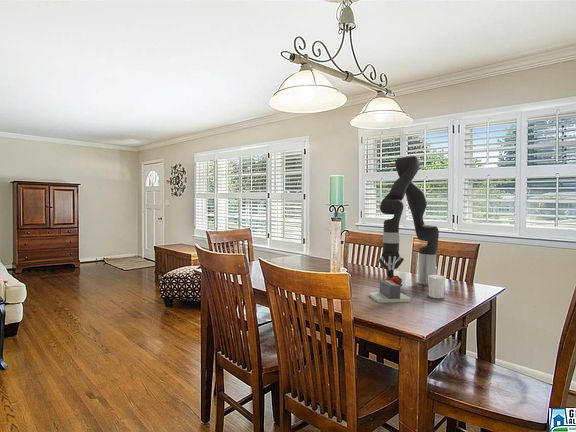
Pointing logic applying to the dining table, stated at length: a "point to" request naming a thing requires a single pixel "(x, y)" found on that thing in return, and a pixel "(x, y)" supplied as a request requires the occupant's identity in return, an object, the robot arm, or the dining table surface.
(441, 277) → the white cup
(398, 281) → the dragon fruit
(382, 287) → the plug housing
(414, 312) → the dining table surface
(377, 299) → the board
